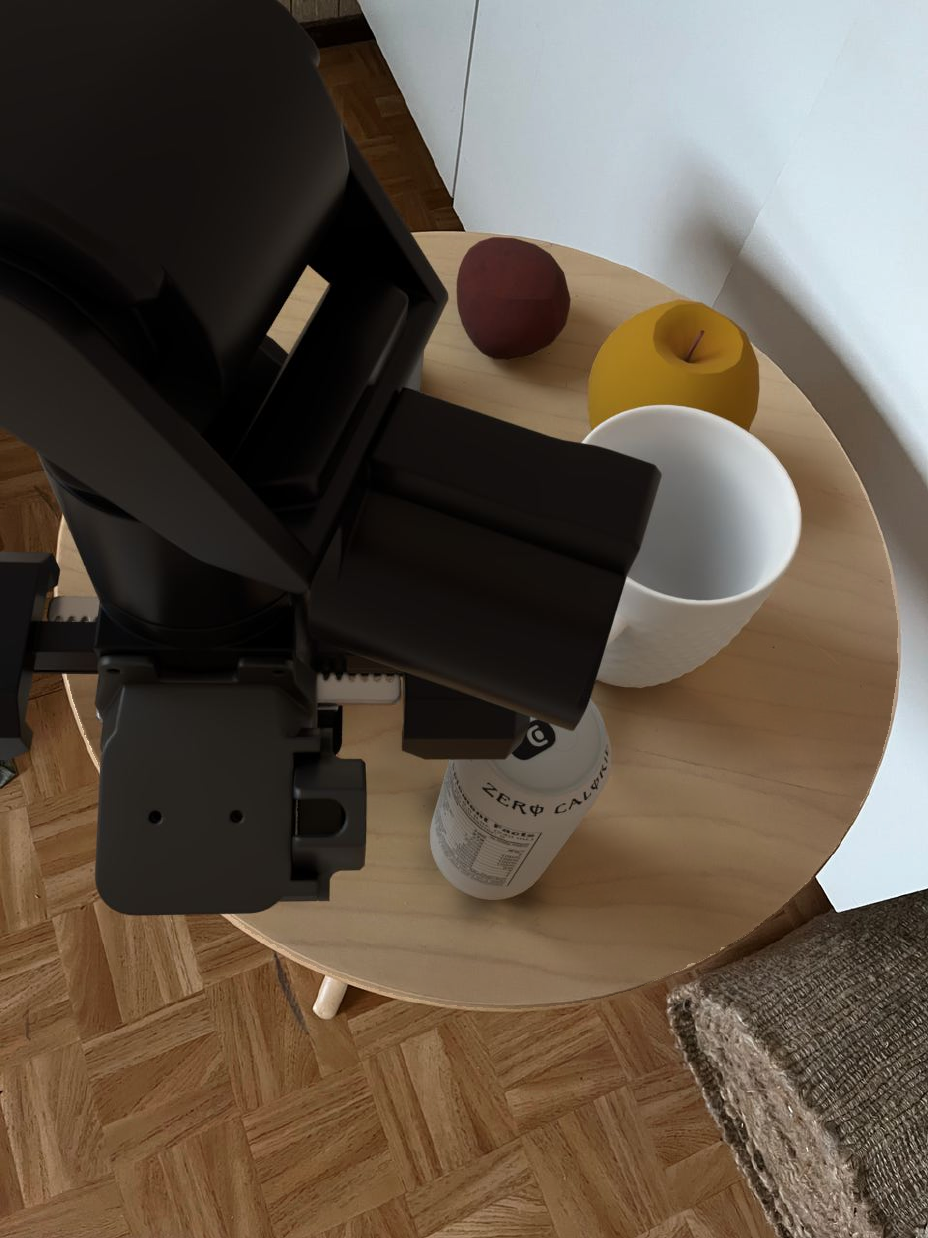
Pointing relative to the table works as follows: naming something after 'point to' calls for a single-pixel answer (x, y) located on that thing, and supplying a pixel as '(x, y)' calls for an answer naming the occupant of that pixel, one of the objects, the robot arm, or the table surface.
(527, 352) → the potato
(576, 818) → the energy drink can
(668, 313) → the apple
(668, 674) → the mug
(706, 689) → the table surface
